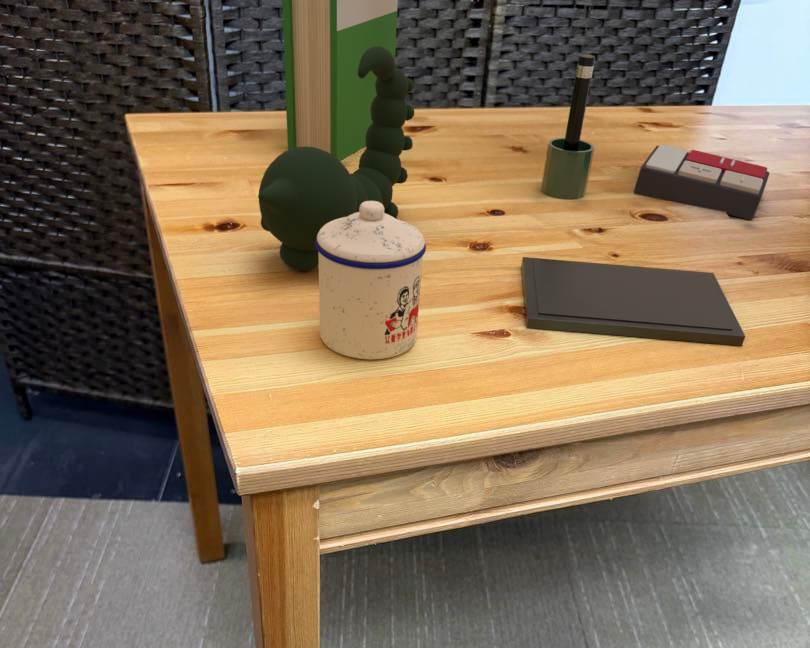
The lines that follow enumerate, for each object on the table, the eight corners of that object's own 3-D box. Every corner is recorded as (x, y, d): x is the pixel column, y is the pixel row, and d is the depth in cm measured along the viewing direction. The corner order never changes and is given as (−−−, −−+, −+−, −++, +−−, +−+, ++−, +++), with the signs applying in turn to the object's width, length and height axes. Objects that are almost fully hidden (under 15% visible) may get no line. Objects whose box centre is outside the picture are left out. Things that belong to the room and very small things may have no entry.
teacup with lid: (403, 371, 68) (411, 233, 61) (301, 351, 70) (297, 214, 62) (438, 310, 77) (449, 183, 69) (347, 294, 79) (348, 168, 71)
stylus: (569, 189, 103) (594, 54, 93) (570, 194, 102) (596, 58, 92) (555, 188, 103) (578, 53, 93) (556, 193, 102) (579, 57, 92)
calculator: (764, 190, 97) (642, 160, 101) (750, 225, 100) (632, 195, 104) (772, 165, 105) (658, 138, 108) (759, 199, 108) (649, 171, 111)
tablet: (710, 281, 86) (713, 271, 85) (742, 346, 75) (746, 335, 74) (521, 265, 86) (522, 255, 85) (526, 327, 76) (528, 316, 75)
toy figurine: (354, 221, 97) (220, 275, 79) (364, 36, 86) (211, 49, 67) (423, 239, 94) (301, 300, 76) (444, 50, 83) (306, 68, 64)
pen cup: (582, 189, 105) (592, 139, 101) (586, 204, 101) (596, 153, 97) (539, 186, 105) (547, 136, 101) (541, 201, 101) (549, 149, 97)
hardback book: (336, 162, 108) (336, -62, 92) (287, 152, 110) (279, -69, 94) (392, 130, 120) (400, -73, 104) (347, 121, 122) (349, -79, 106)
